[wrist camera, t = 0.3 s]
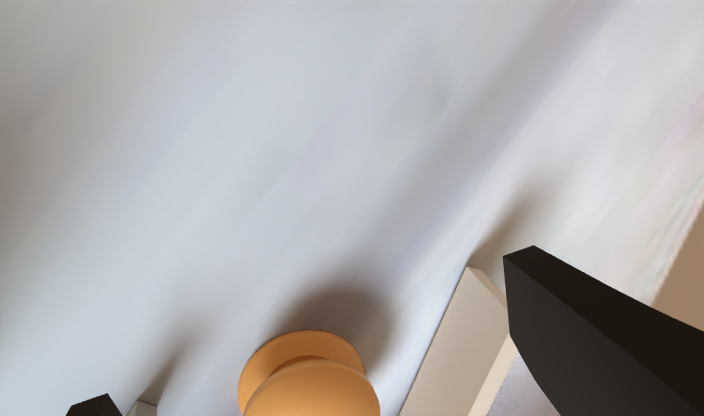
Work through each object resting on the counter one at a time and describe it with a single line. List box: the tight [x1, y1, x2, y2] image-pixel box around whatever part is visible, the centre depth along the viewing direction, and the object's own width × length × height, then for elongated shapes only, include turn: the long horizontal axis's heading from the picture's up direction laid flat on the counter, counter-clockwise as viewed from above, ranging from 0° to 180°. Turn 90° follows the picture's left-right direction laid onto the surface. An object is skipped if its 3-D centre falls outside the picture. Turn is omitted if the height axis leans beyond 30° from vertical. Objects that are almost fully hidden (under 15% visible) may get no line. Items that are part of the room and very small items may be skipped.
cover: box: [399, 267, 518, 416], centre depth 23 cm, size 1×11×4 cm, turn 159°
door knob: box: [238, 330, 380, 416], centre depth 22 cm, size 5×5×2 cm
